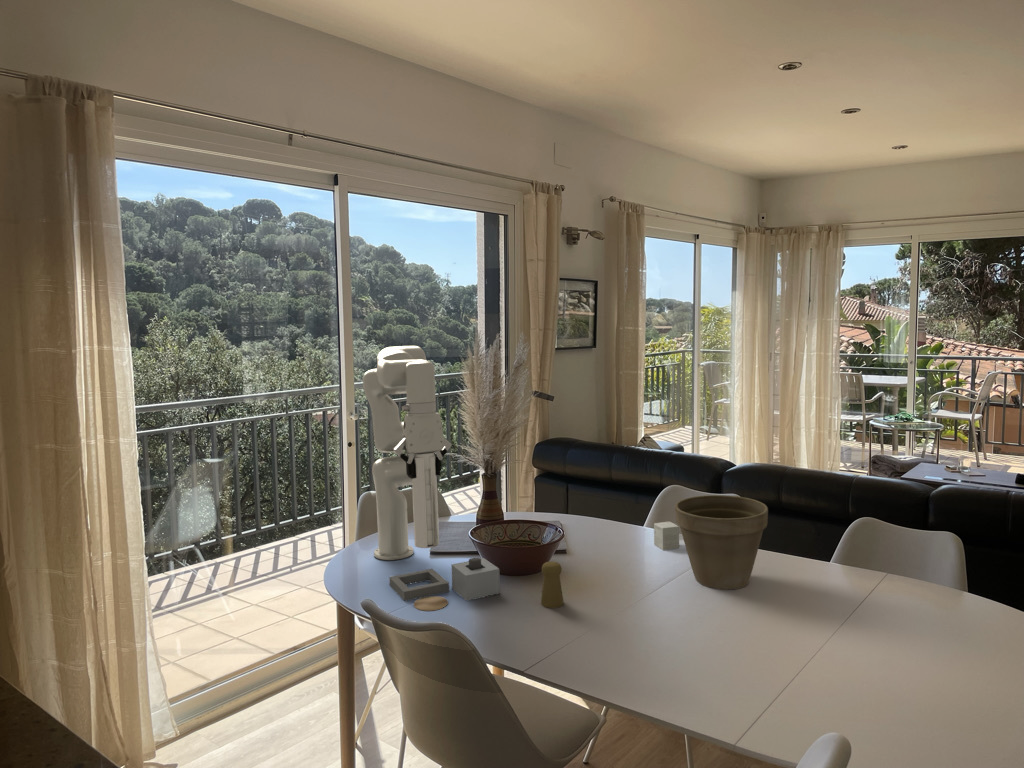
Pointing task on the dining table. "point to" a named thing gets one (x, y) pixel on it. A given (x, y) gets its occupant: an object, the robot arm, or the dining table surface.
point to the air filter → (425, 500)
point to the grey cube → (666, 535)
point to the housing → (475, 580)
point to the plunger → (474, 563)
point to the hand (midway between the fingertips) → (424, 475)
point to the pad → (430, 603)
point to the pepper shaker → (551, 585)
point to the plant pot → (721, 537)
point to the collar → (406, 593)
